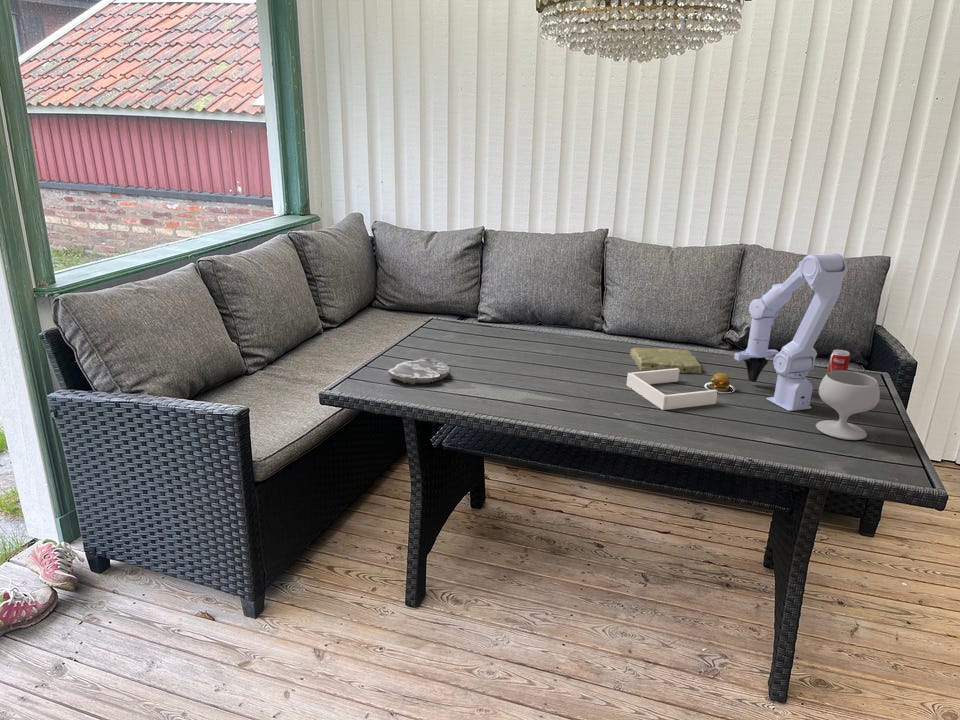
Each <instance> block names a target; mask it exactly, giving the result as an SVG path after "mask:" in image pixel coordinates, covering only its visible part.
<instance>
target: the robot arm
mask: <svg viewBox="0 0 960 720" xmlns="http://www.w3.org/2000/svg"><path fill="white" fill-rule="evenodd" d="M848 271H849V269H848V265H847V263H846V259H845V258H844V256H843V255H841V254H840V253H833V254H809V255H806V256H805V257H804V258H803V259H802V260H801V261H799V262H798V267H797V269H795V270H794V271H793V272H792V273H791V274H790V276H788V278H786V279H785V281H784V282H782V283H774V284H772V285H771V288H770V289H769V290H768V291H767V292H766V293H764V294H762V296H761V298H754V299H753V300H752V301H751V302H750V304H749V306H748V312H749V315H750V317H751V322H750V328H749V334H748V335H749V336H748V342H747V347H746V348H745V350H743V351H742V350H741V351H740V352H735V353H734V357H733V359H734V360H735V361H738V362H739V361H742V360H743V361H744V364H745V366H746V367H745V368H746V371H747V376H748V377H747V378H748V381H750V382H753V383H755V382H757V380H758V378H759V376H760V374H761V372H762V371H763V369H764V368H765V367H766V365H767V364H768V362H769V360H768V359H766V358H773V362H772V363H773V367H774V370H775V373H776V374H777V377H776V381H775V382H776V383H775V390H774V395H773V396H769V397H766V400H767V401H768V402H771V403H773V404H775V405H777V406H778V407H780V408H782V409H784V410H785V411H788V412H794V411H801V410H810V409H812V406H811V405H810V404H811V400H812V399H811V398H812V393H813V385H812V383H811V381H809V380H808V379H807V377H808V376H809V372H811V371H812V370H813V369H814V368H815V365H816V361H815V360H816V358H817V355H818V353H817V350H816V349H815V348H814V345H816V344H815V343H816V342H817V340H818V338H819V337H820V335H821V332H822V331H823V328H824V326H825V324H826V322H827V321H828V319H829V317H830V315H831V313H832V311H833V309H834V307H835V305H836V304H837V301H838V299H839V298H840V295H841V289H842V283H843V280H844V278H845V276H846V274H847V273H848ZM805 283H808V286H809V288H810V289H811V290H812V291H813V292H814V295H813V297H812V299H811V301H810V304H809V305H808V308H807V309H806V312H805V313H804V315H803V318H802V320H801V322H800V324H799V326H798V328H797V330H796V332H795V334H794V336H793V339H792V340H791V341H790V342H788V343H787V344H785V345H783V346H782V347H781V350H780V351H778V350H777V349H769V345H770V336H771V331H772V326H773V324H774V323H775V318H776V317H778V314H779V311H780V309H781V308H782V307H783V306H784V305H786V303H788V302H789V301H790V300H791V299H792V298H793V292H794V291H796V290H797V289H799V288H800V287H801V286H802V285H804V284H805ZM806 376H807V377H806Z"/></svg>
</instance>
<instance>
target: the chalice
mask: <svg viewBox="0 0 960 720" xmlns="http://www.w3.org/2000/svg"><path fill="white" fill-rule="evenodd" d="M827 372H828V371H827ZM880 390H881V389H880V386H879V382H878V380H877V379H876V378H874V377H873V376H870V375H867V374H865V373H862V372H858V371H857V372H856V371H850V370H847V371H843V370H837V371H830V372H828V373H826V374H825V375H824V377H823V378H822V379H821V381H820V384H819V387H818V395H819V397H820V399H821V400H822V401H823V402H824V403H825V404H826V405H828V406H829V407H830V408H832V409H833V410H835V411H836V412H837V414H838V415H839V416H838V417H839V418H838V420H835V419H834V420H831V419H828V420H821V421H818V422H817V423H815V428H816V429H817V430H818V431H819V432H821V433H822V434H825V435H827V436H830V437H833V438H837V439H841V440H849V441H857V440H858V441H859V440H864V439H866V438H867V437H868V433H867V432H866V431H865V430H864V429H863V428H861V427H859V426H857V425H856V424H853V423H849V422H848V419H849V417H851V416H853V415H854V414H860V413H864V412H868V411H870V410H872V409H874V408H875V407H877V405H878V403H879V402H880V398H881V391H880Z"/></svg>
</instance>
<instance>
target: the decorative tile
mask: <svg viewBox="0 0 960 720" xmlns="http://www.w3.org/2000/svg"><path fill="white" fill-rule="evenodd" d="M629 355H630V357H631V359H632V360H633V362H634V361H635V362H634V363H635V365H636V366H637V368H638V367H639V368H638V369H639V370H640V371H641V370H642V371H641V372H643V371H653V370H664V369H674V368H678V369H679V374H698V373H699V374H702V365H701V364H700V362H699V361H698V360H697V358H696V357H695V355H693V353H692V352H690V351H689V349H677V348H655V347H650V348H649V347H647V348H646V347H643V348H642V347H633V348H631V349H630V351H629Z"/></svg>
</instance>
